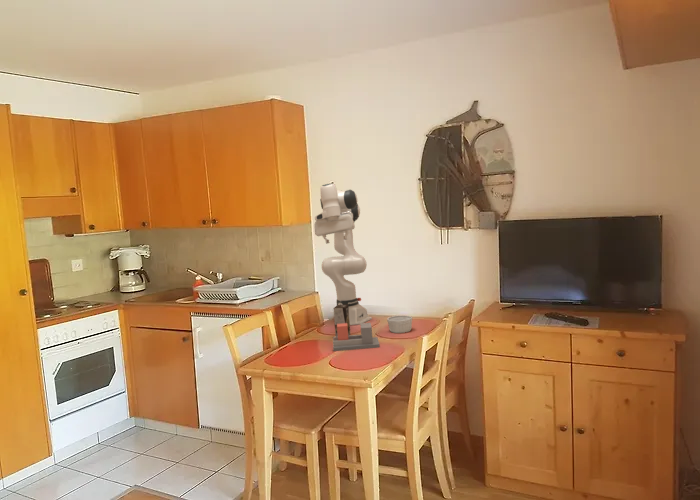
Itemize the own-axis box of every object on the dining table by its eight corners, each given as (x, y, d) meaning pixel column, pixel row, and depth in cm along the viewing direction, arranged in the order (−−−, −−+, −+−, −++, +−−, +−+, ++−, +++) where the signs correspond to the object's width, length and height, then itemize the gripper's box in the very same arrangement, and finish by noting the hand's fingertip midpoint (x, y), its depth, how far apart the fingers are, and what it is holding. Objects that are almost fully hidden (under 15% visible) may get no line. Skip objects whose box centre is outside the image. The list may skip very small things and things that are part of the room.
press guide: (333, 351, 262) (331, 331, 261) (333, 343, 276) (332, 324, 275) (379, 347, 263) (378, 327, 262) (377, 340, 277) (376, 321, 276)
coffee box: (347, 338, 284) (345, 307, 283) (335, 338, 286) (332, 308, 284) (351, 334, 293) (348, 304, 292) (339, 334, 295) (336, 304, 293)
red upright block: (338, 345, 266) (337, 326, 265) (338, 341, 272) (337, 323, 271) (348, 344, 266) (347, 325, 265) (348, 341, 272) (347, 323, 271)
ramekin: (409, 334, 284) (409, 320, 283) (385, 333, 288) (384, 320, 288) (415, 327, 296) (414, 315, 296) (391, 327, 301) (390, 315, 300)
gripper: (353, 211, 278) (358, 238, 276) (315, 219, 283) (319, 246, 281) (350, 209, 272) (355, 236, 270) (311, 217, 277) (315, 244, 275)
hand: (336, 241), depth 276 cm, fingers open, 8 cm apart
